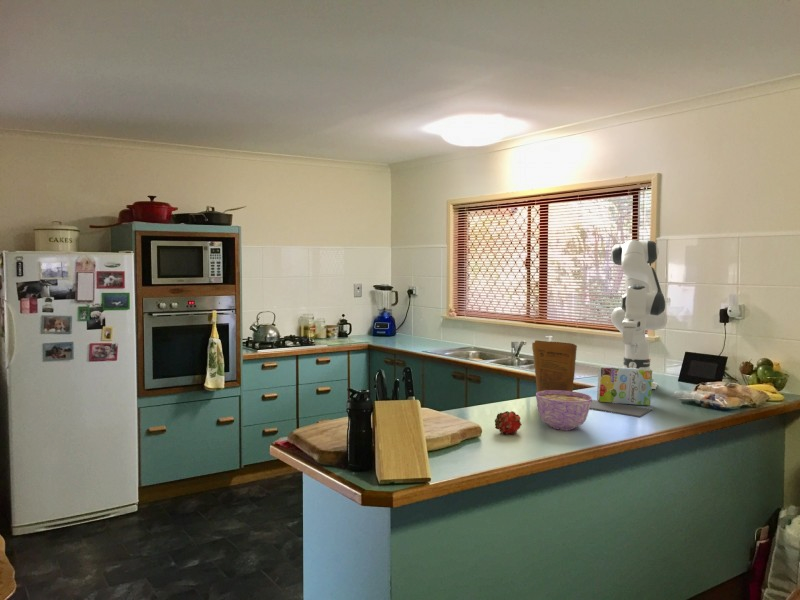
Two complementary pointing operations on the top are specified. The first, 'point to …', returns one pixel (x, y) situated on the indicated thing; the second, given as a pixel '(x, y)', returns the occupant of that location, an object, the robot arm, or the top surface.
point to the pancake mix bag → (554, 365)
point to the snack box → (624, 385)
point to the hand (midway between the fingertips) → (633, 353)
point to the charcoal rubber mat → (619, 408)
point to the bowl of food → (563, 408)
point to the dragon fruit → (508, 422)
